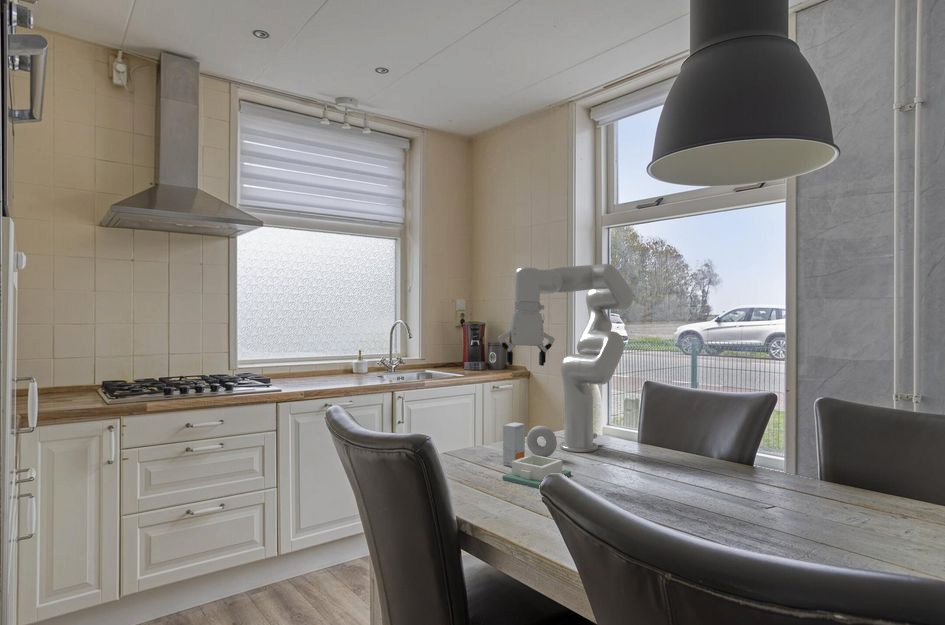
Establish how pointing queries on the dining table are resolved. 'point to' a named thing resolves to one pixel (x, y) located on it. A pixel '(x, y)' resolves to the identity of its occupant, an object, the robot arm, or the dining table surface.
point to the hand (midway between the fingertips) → (525, 365)
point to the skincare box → (513, 442)
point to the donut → (548, 436)
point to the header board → (534, 470)
